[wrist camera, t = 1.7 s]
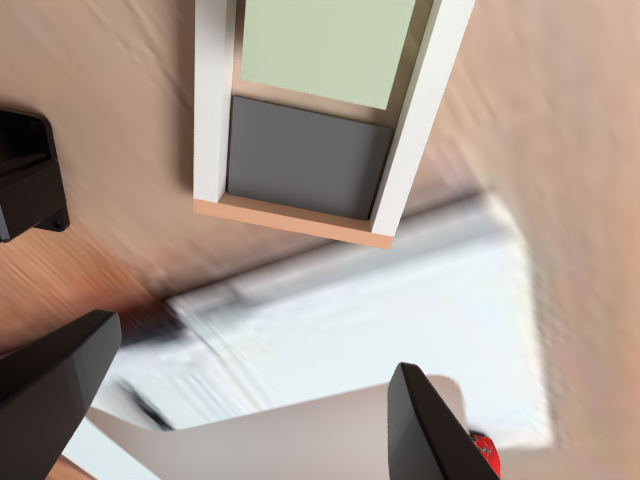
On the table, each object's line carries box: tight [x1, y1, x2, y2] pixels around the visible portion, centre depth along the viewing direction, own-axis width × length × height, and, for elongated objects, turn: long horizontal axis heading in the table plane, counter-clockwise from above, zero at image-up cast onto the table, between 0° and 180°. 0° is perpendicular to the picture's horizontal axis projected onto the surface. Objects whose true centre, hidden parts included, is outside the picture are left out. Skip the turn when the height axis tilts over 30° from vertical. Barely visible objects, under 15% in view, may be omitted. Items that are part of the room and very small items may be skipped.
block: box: [240, 0, 416, 110], centre depth 13 cm, size 5×5×5 cm
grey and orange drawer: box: [193, 96, 394, 250], centre depth 18 cm, size 10×6×2 cm, turn 79°
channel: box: [193, 0, 475, 237], centre depth 14 cm, size 10×18×2 cm, turn 169°
